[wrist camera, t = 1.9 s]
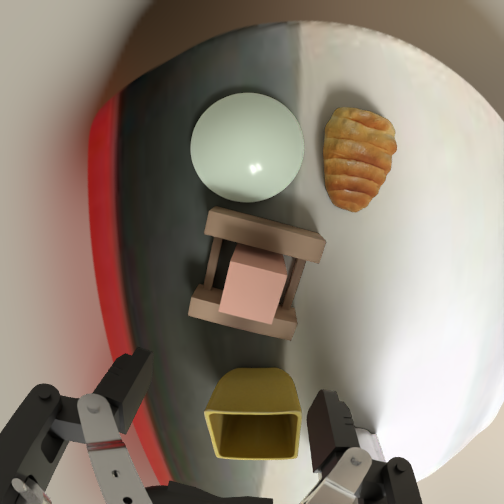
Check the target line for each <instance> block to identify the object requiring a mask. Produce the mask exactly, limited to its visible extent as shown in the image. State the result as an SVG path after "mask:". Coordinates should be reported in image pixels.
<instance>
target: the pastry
mask: <svg viewBox="0 0 504 504" xmlns="http://www.w3.org/2000/svg"><path fill="white" fill-rule="evenodd" d="M394 136H395V129H394V127H393V125H392V124H391V122H390V121H389V120H388V119H386V118H384V117H382V116H380V115H378V114H375V113H373V112H371V111H366V110H360V109H358V108H351V107H341V108H337V109H336V110H335V111H334V113H333V115H332V117H331V119H330V120H329V122H328V123H327V124H326V127H325V137H324V147H323V157H324V173H325V187H326V190H327V192H328V195H329V197H330V199H331V201H332V203H333V204H334V205H335V206H337V207H339V208H341V209H345V210H348V211H351V212H358V211H359V210H361V209H363V208H365V207H367V206H368V204H369V202H370V201H371V200H372V198H373V197H375V196H376V195H377V194H378V191H379V189H380V186H381V185H382V184H383V183H384V182H385V180H386V175H387V174H388V173H389V172H390V170H391V163H392V155H393V154H394V153H395V152H396V150H397V144H396V141H395V138H394Z"/></svg>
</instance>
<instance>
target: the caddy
mask: <svg viewBox="0 0 504 504" xmlns="http://www.w3.org/2000/svg"><path fill="white" fill-rule="evenodd" d="M204 234H207V235H210V236H214V240H213V244H212V249H211V253H210V258H209V262H208V267H207V272H206V276H205V281H204V285H202V284H198V286H197V288H196V290H195V291H194V293H193V295H192V297H191V302H190V307H189V313H188V316H192V317H195V318H199V319H203V320H206V321H210V322H214V323H218V324H221V325H225V326H229V327H233V328H237V329H241V330H245V331H249V332H254V333H258V334H262V335H267V336H271V337H276V338H280V339H285V340H290V341H291V339H292V337H293V334H294V332H295V329H296V327H297V324H298V323H297V317H296V312H295V308H293V307H291V305H292V302H293V299H294V296H295V293H296V290H297V287H298V284H299V281H300V278H301V275H302V272H303V269H304V266H305V263H306V260H307V261H311V262H314V263H318V264H319V262H320V259H321V256H322V253H323V250H324V247H325V244H326V241H325V240H324V238H323V237H322V236H321V235H320V234H319V233H316V232H312V231H309V230H305V229H301V228H298V227H294V226H290V225H287V224H283V223H279V222H276V221H272V220H268V219H264V218H261V217H257V216H253V215H249V214H245V213H241V212H237V211H233V210H229V209H225V208H221V207H217V206H215V207H214V208H212V209H211V210H209V213H208V218H207V222H206V227H205V232H204ZM223 239H226V240H230V241H234V242H238V243H241V244H245V245H249V246H253V247H257V248H261V249H265V250H268V251H272V252H276V253H280V254H284V255H288V256H291V257H295V258H296V262H295V265H294V268H293V271H292V274H291V277H290V281H289V284H288V287H287V290H286V293H285V296H284V299H283V302H282V305H280V304H278V306H277V309H276V313H275V316H274V319H273V322H272V325H271V324H267V323H263V322H259V321H254V320H250V319H246V318H242V317H238V316H234V315H230V314H226V313H222V312H218V311H219V307H220V303H221V298H222V294H223V290H220V289H217V288H213V287H212V286H213V282H214V277H215V273H216V268H217V264H218V260H219V255H220V251H221V247H222V242H223Z"/></svg>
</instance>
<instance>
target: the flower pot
mask: <svg viewBox="0 0 504 504" xmlns="http://www.w3.org/2000/svg"><path fill="white" fill-rule="evenodd" d="M204 415H205V418H206V422H207V426H208V429H209V433H210V437H211V441H212V444H213V448H214V451H215V454H216V456H217V457H218V458H225V459H239V460H285V459H295V458H297V456H298V448H299V438H300V429H301V422H302V411H301V407H300V403H299V399H298V396H297V392H296V388H295V385H294V382H293V380H292V378H291V377H290V376H289V375H288V374H287V373H286V372H285V371H283V370H281V369H279V368H236V369H234V370H231V371H229V372H228V373H226V374H225V375H224V376H223V377H222V378H221V379H220V380H219V382H218V383H217V385H216V387H215V389H214V391H213V393H212V396H211V398H210V400H209V402H208V404H207V407H206V409H205V411H204Z"/></svg>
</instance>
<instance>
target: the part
mask: <svg viewBox="0 0 504 504" xmlns="http://www.w3.org/2000/svg"><path fill="white" fill-rule="evenodd" d="M286 278H287V271H286V266H285V262H284V257H283V254H280V253H276V252H272V251H268V250H265V249H261V248H257V247H253V246H249V245H245V244H241V243H237V245H236V248H235V250H234V253H233V256H232V258H231V261H230V265H229V269H228V273H227V277H226V282H225V286H224V290H223V294H222V298H221V303H220V307H219V311H218V312H222V313H226V314H230V315H234V316H238V317H242V318H246V319H250V320H254V321H259V322H263V323H267V324H271V325H272V322H273V319H274V316H275V313H276V309H277V306H278V303H279V300H280V297H281V294H282V291H283V288H284V285H285V282H286Z"/></svg>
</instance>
